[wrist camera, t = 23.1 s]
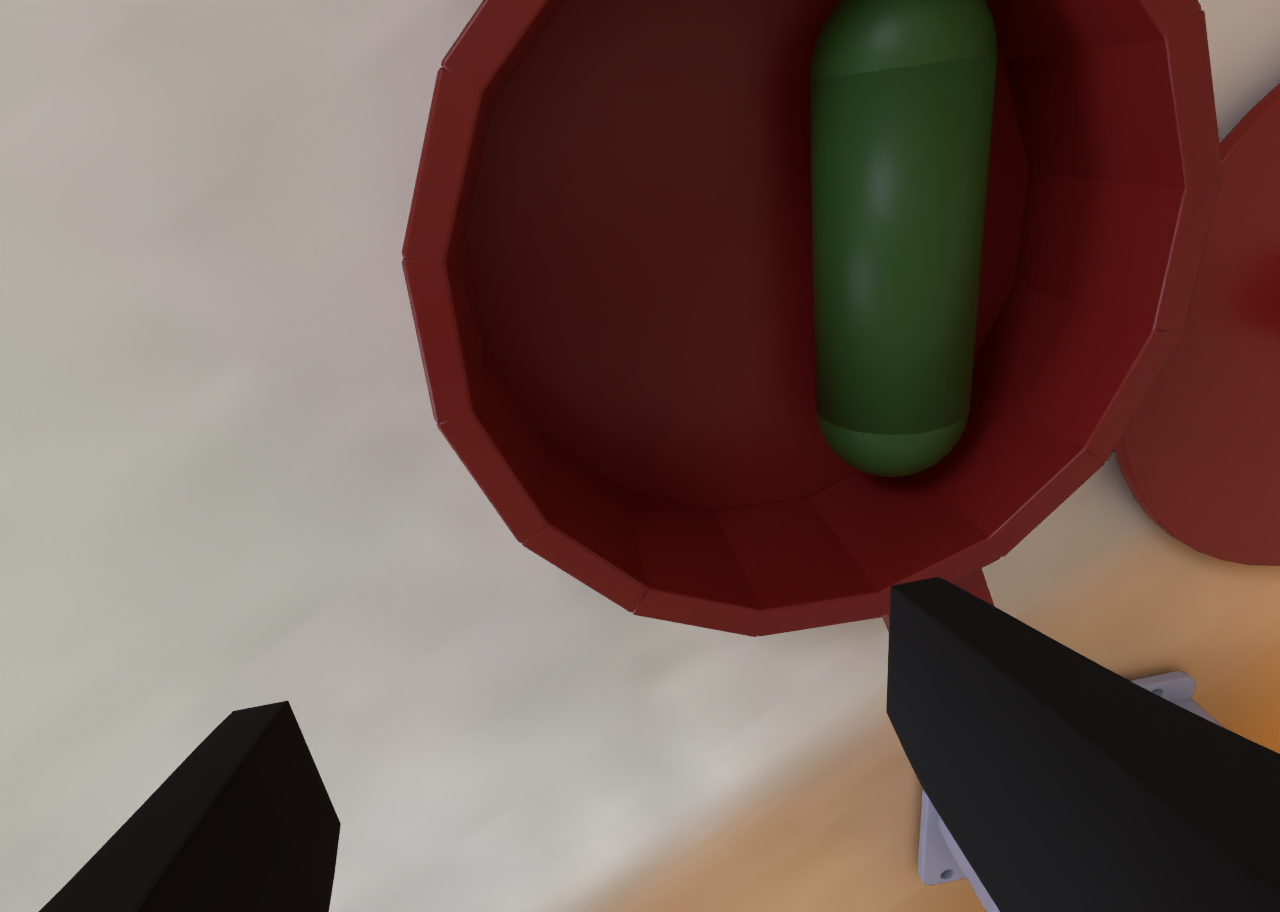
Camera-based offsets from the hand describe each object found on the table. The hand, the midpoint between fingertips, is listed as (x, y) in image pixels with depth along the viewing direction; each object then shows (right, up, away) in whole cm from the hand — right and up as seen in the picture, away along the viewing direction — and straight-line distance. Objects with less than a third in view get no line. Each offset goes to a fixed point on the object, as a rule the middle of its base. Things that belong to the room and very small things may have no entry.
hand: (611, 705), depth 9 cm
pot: (+3, +8, +8) cm, 12 cm away
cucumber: (+4, +7, +7) cm, 11 cm away
